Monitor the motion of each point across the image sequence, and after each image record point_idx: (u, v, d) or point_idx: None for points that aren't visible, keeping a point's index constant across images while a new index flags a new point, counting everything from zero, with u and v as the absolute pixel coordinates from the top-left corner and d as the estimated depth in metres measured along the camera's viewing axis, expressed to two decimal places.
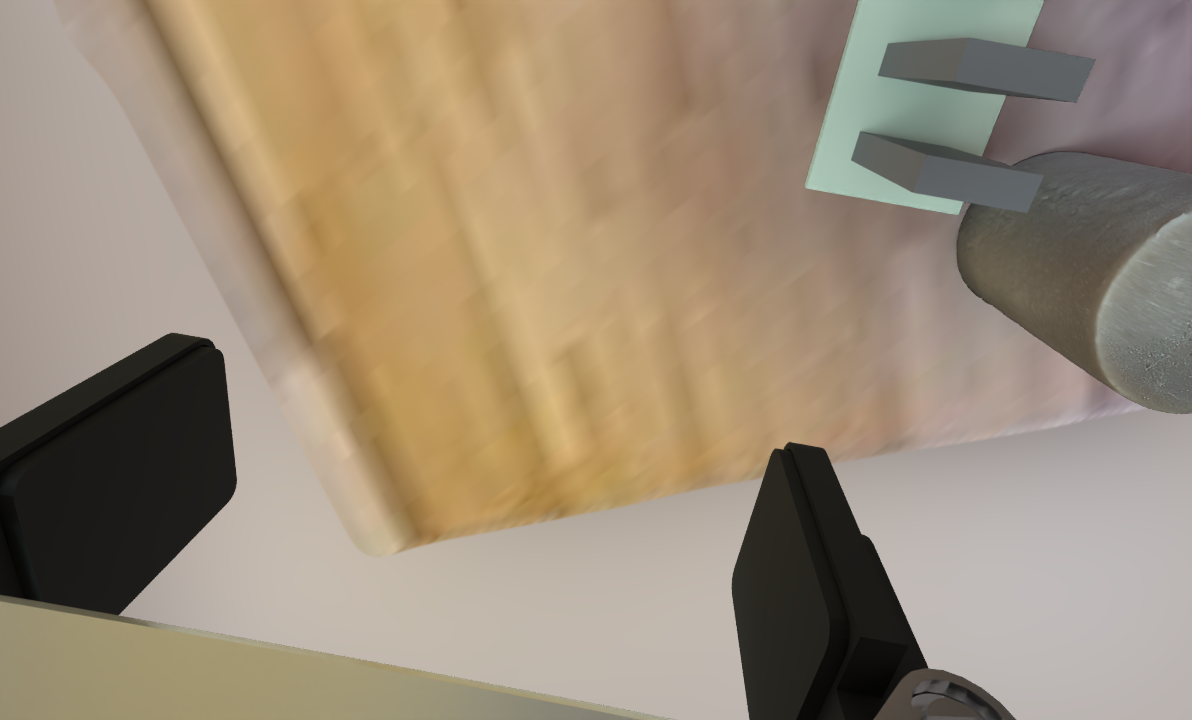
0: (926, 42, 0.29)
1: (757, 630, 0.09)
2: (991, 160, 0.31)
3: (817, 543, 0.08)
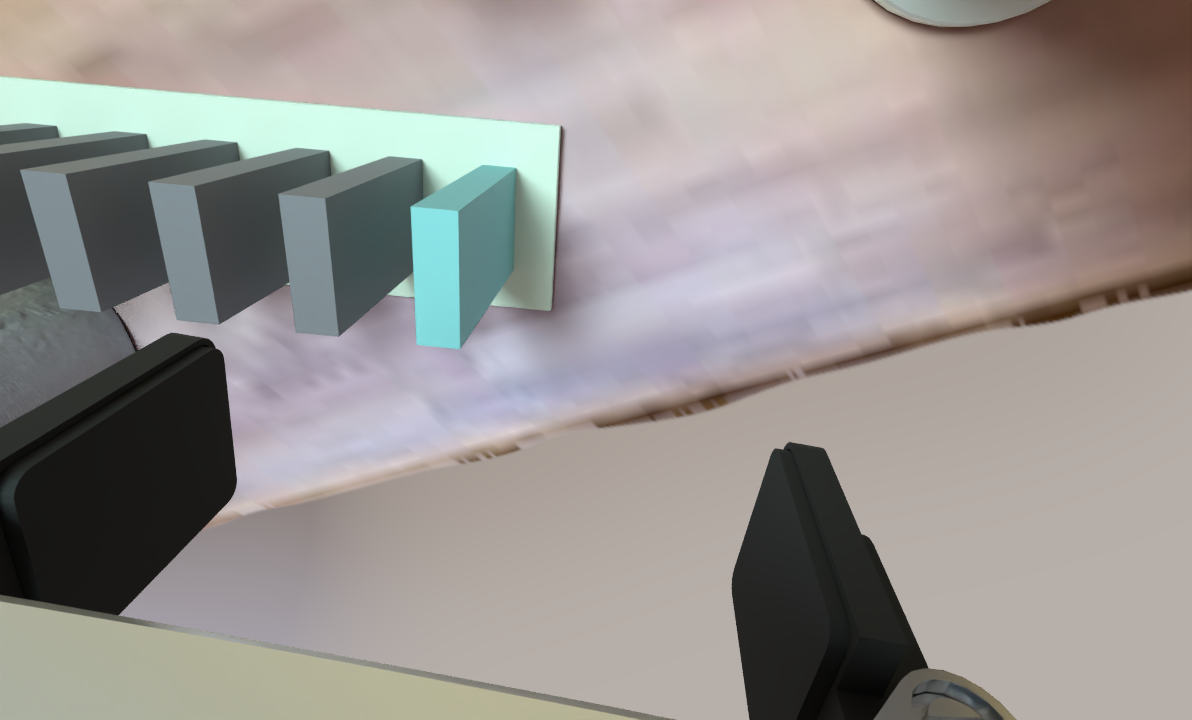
0: (46, 147, 0.26)
1: (757, 630, 0.09)
2: None
3: (817, 543, 0.08)
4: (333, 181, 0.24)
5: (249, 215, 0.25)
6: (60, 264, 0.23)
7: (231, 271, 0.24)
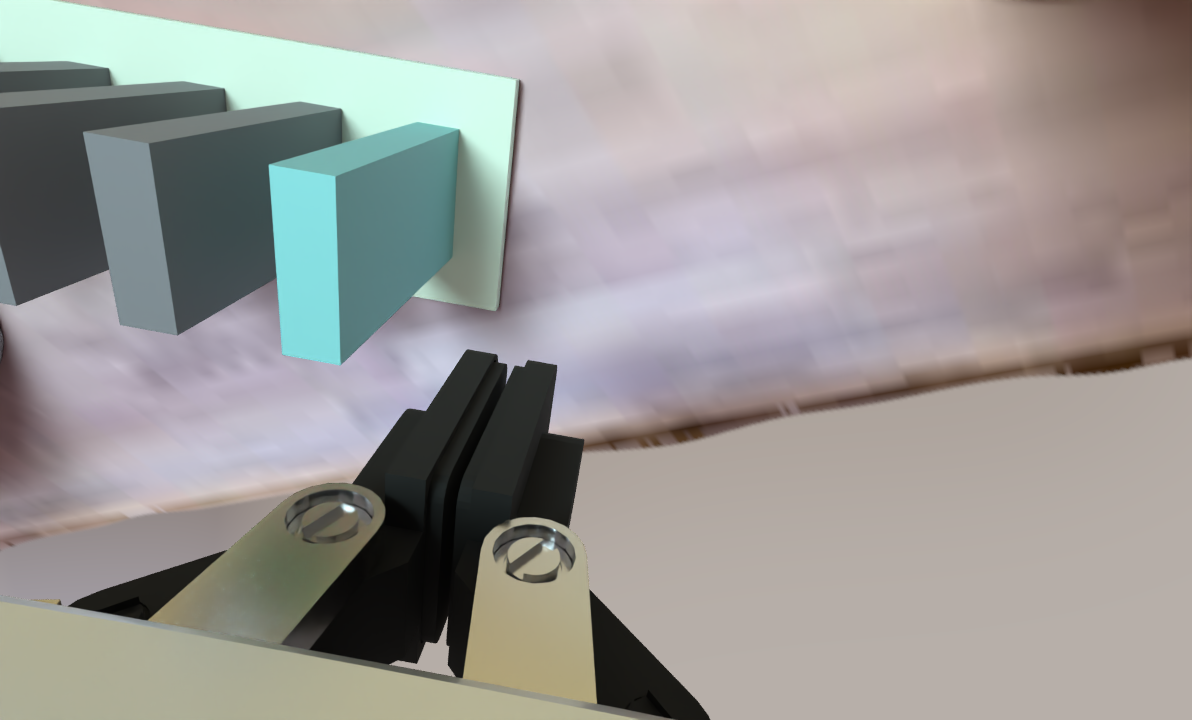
0: None
1: None
2: None
3: (493, 429, 0.09)
4: (187, 123, 0.18)
5: (77, 160, 0.19)
6: None
7: (42, 234, 0.18)
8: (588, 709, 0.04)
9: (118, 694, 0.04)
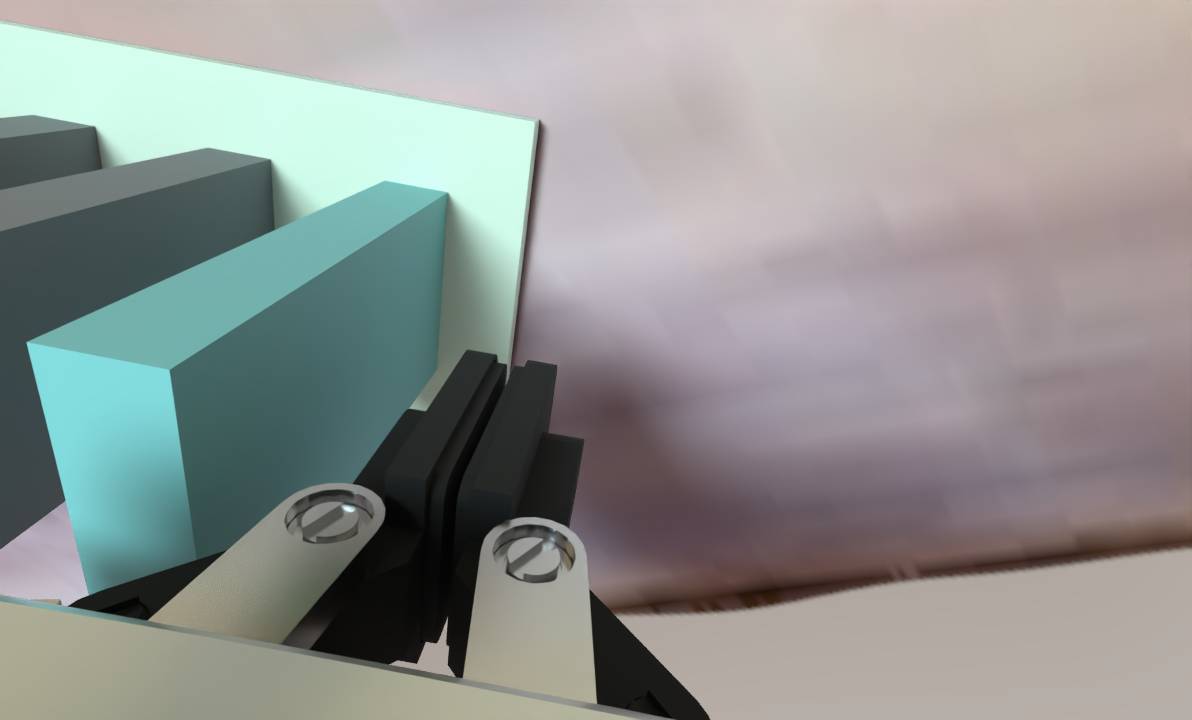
0: None
1: None
2: None
3: (493, 430, 0.09)
4: None
5: None
6: None
7: None
8: (588, 709, 0.04)
9: (118, 694, 0.04)
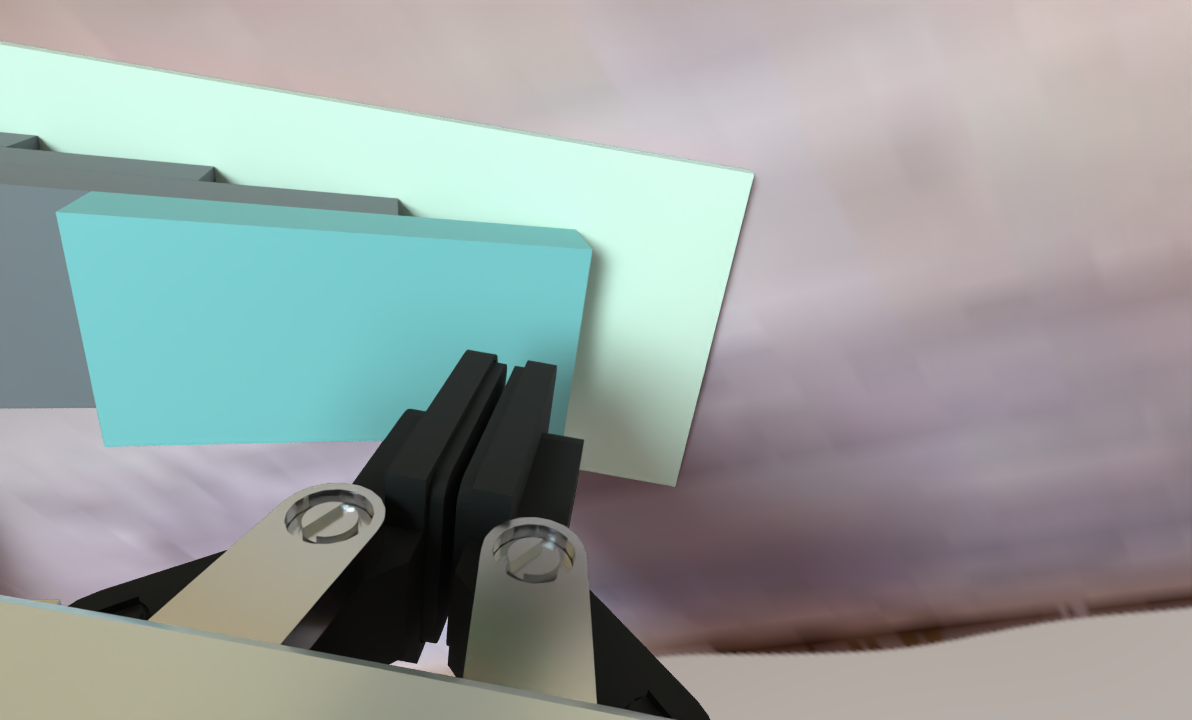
0: None
1: None
2: None
3: (493, 429, 0.09)
4: (37, 173, 0.13)
5: None
6: None
7: None
8: (588, 710, 0.04)
9: (118, 695, 0.04)
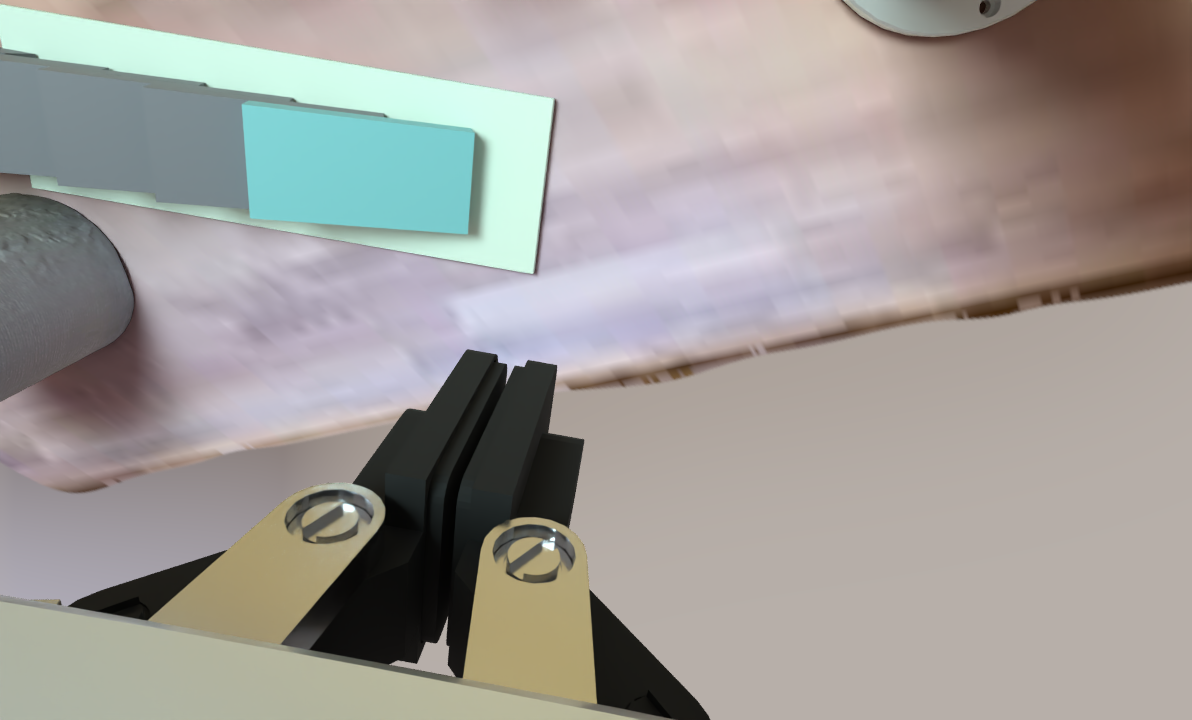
0: None
1: None
2: None
3: (493, 429, 0.09)
4: (221, 94, 0.30)
5: (119, 116, 0.30)
6: None
7: (83, 152, 0.30)
8: (588, 709, 0.04)
9: (118, 694, 0.04)
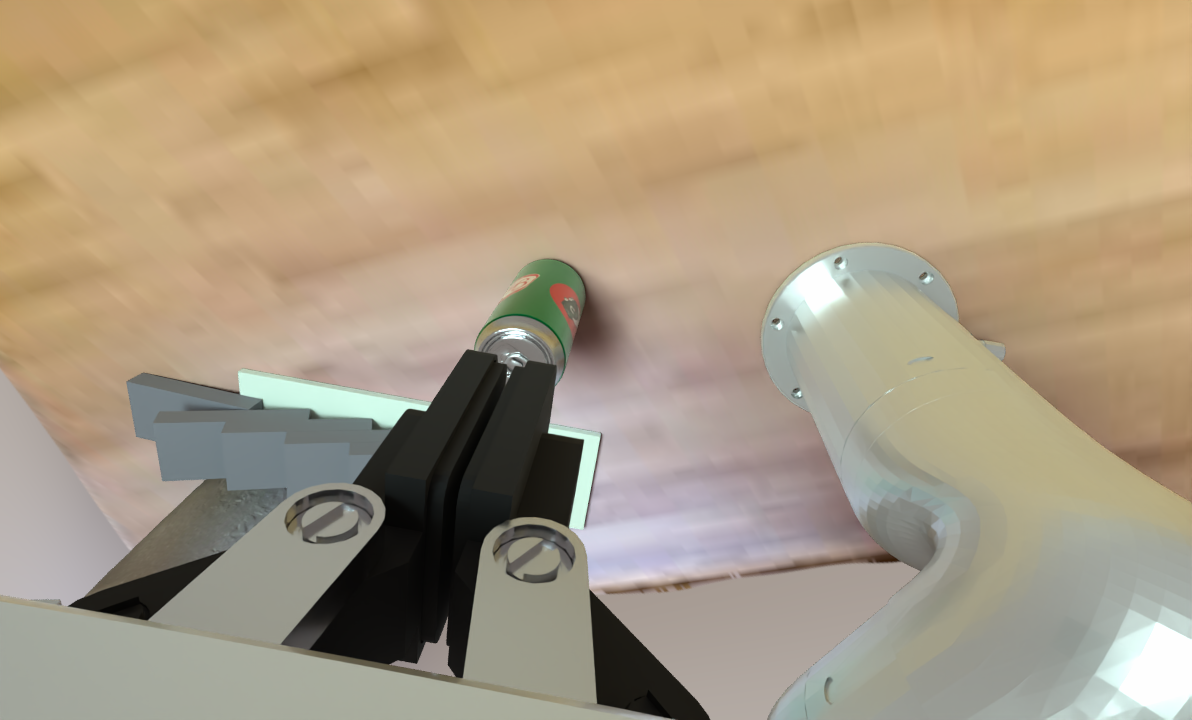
0: (224, 421, 0.47)
1: None
2: None
3: (493, 429, 0.09)
4: None
5: (328, 461, 0.47)
6: None
7: (305, 482, 0.47)
8: (588, 710, 0.04)
9: (118, 694, 0.04)
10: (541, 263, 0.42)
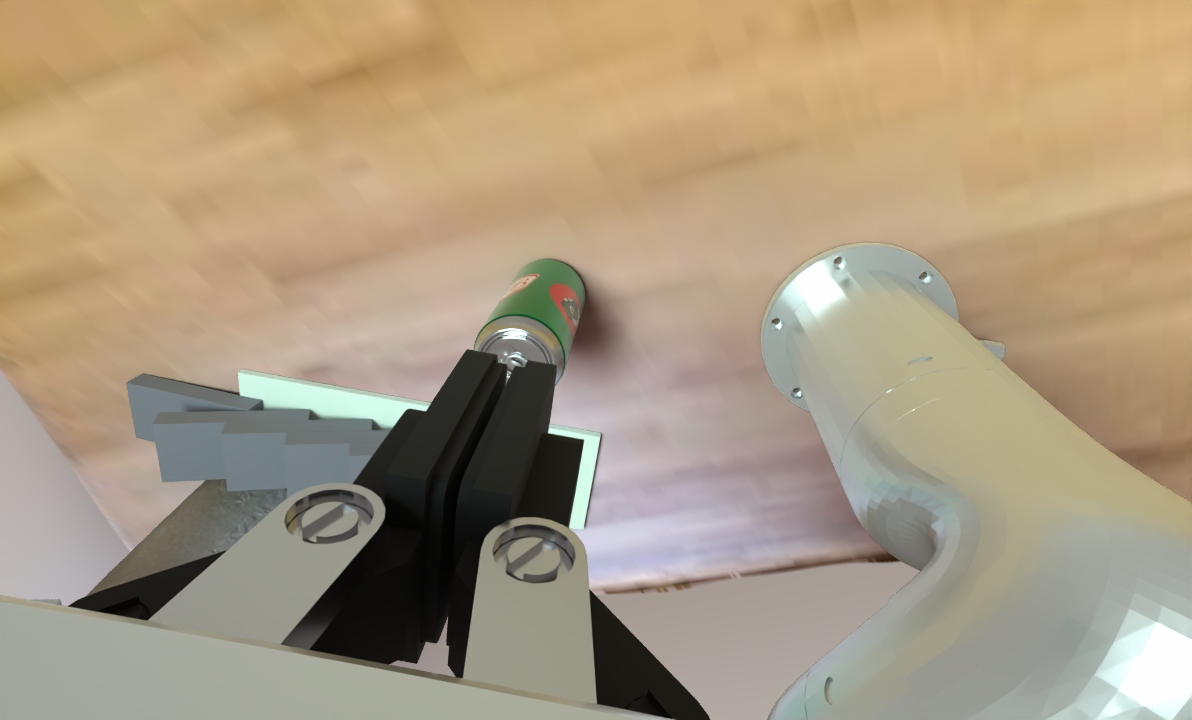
0: (224, 422, 0.47)
1: None
2: None
3: (493, 429, 0.09)
4: None
5: (328, 461, 0.47)
6: None
7: (305, 482, 0.47)
8: (588, 709, 0.04)
9: (118, 694, 0.04)
10: (541, 263, 0.42)
